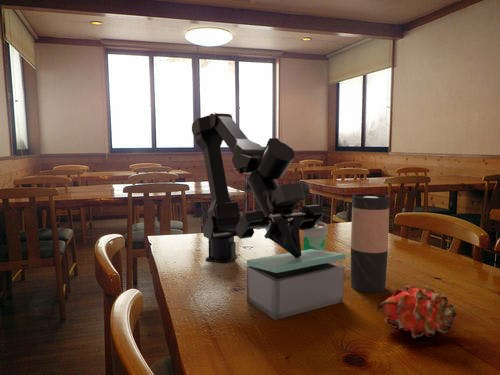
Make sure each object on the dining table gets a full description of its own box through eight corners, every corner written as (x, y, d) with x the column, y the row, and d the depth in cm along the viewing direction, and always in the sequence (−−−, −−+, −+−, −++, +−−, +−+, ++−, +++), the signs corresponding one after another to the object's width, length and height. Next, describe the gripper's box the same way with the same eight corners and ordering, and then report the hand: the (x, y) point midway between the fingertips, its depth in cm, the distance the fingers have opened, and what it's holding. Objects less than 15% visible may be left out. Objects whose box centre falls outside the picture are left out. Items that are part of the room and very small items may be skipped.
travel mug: (367, 296, 79) (370, 199, 77) (342, 284, 86) (344, 194, 83) (394, 289, 82) (398, 196, 80) (368, 278, 89) (370, 192, 87)
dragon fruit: (461, 351, 61) (381, 348, 65) (452, 303, 67) (379, 303, 71) (462, 323, 56) (375, 321, 60) (452, 274, 62) (373, 276, 66)
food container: (327, 270, 95) (328, 230, 94) (302, 268, 97) (303, 229, 95) (328, 256, 107) (328, 220, 106) (305, 254, 109) (306, 219, 107)
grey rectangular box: (246, 300, 77) (246, 266, 76) (310, 285, 85) (311, 254, 84) (275, 320, 68) (275, 281, 67) (342, 301, 76) (343, 267, 75)
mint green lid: (246, 265, 76) (246, 260, 76) (311, 253, 84) (310, 249, 84) (276, 272, 67) (276, 267, 67) (345, 259, 75) (345, 253, 75)
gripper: (242, 169, 73) (274, 239, 64) (319, 166, 82) (356, 227, 73) (224, 205, 80) (251, 272, 72) (296, 199, 89) (328, 257, 81)
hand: (298, 256), depth 74 cm, fingers closed, pressing on mint green lid
